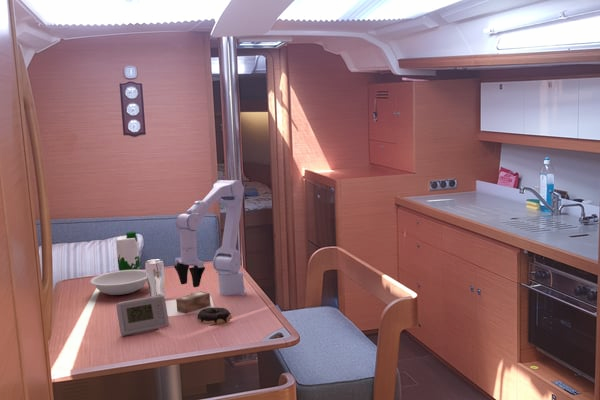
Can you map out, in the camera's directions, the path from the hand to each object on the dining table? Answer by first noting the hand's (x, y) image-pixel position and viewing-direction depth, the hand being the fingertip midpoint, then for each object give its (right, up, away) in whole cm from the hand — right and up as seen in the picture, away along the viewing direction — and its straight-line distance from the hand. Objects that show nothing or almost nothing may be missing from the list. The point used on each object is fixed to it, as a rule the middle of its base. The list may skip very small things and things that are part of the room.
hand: (190, 285), depth 244 cm
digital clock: (-12, -13, -17) cm, 25 cm away
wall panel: (-3, -9, +4) cm, 11 cm away
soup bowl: (-32, -7, +32) cm, 46 cm away
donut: (+10, -11, -11) cm, 19 cm away
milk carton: (-35, -4, +56) cm, 66 cm away
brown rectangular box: (+1, -8, +1) cm, 8 cm away
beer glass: (-15, -8, +19) cm, 26 cm away
